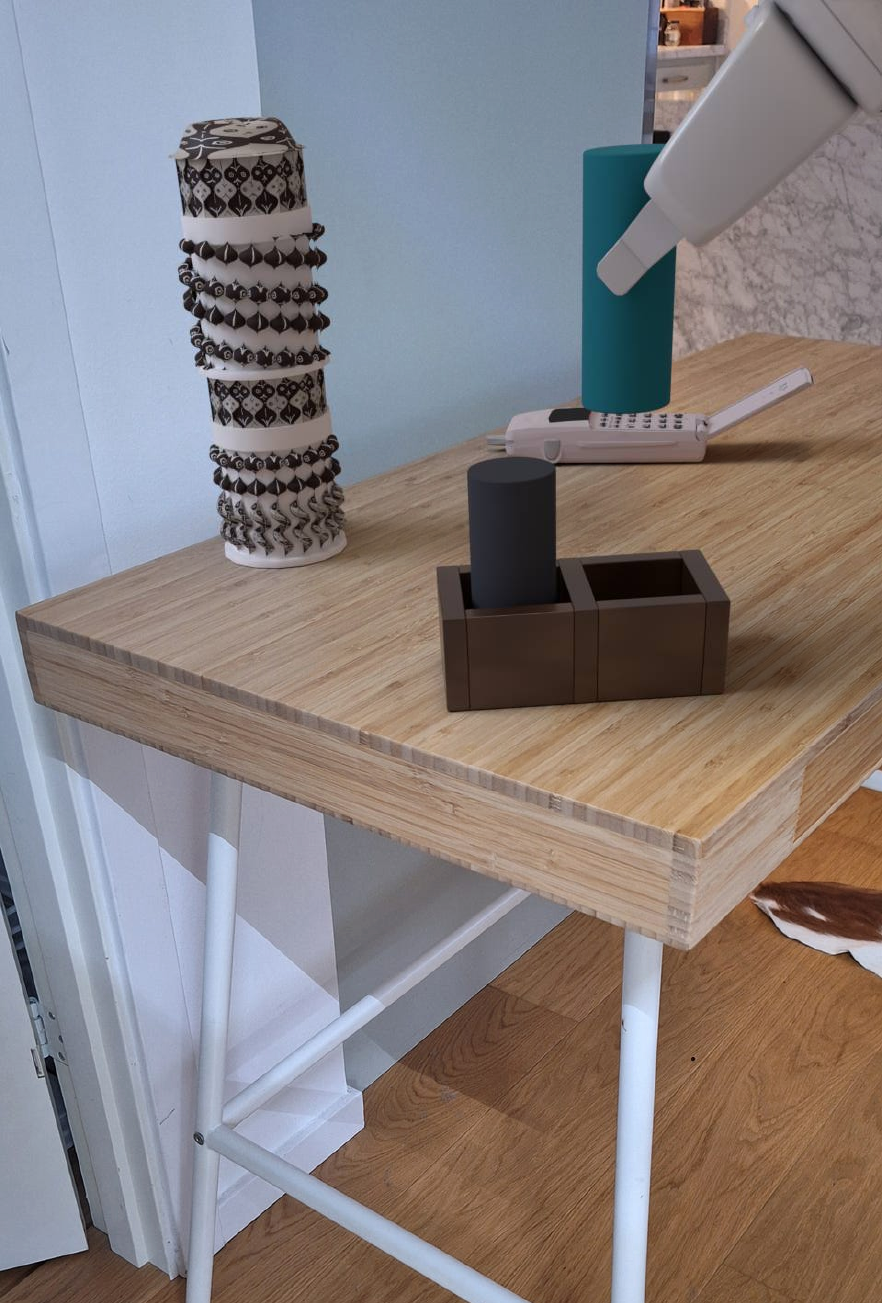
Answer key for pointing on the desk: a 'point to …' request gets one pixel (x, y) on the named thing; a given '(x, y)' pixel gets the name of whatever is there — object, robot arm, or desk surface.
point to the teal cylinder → (639, 322)
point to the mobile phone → (636, 429)
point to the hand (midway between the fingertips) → (616, 272)
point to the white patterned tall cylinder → (260, 339)
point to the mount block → (588, 634)
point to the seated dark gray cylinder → (512, 532)
